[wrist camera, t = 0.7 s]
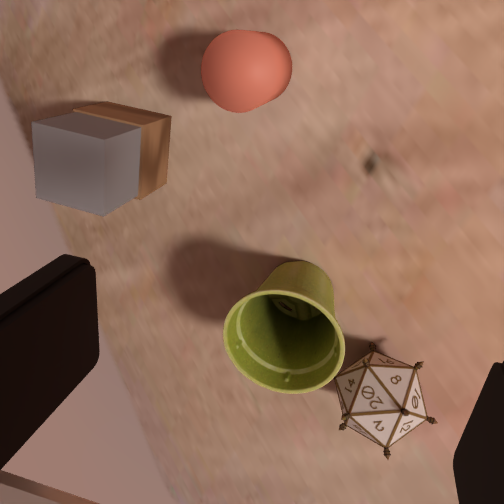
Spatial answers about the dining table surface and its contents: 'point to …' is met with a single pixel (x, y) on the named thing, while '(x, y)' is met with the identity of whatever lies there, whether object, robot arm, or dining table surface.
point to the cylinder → (245, 69)
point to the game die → (381, 398)
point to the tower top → (86, 162)
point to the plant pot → (287, 331)
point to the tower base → (152, 140)
